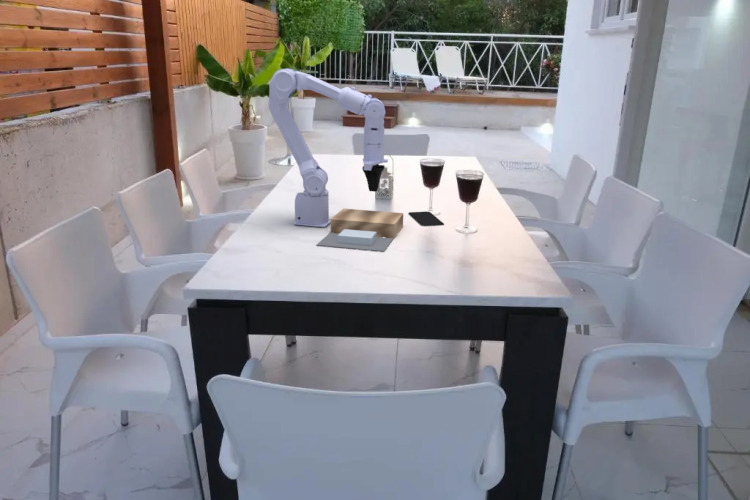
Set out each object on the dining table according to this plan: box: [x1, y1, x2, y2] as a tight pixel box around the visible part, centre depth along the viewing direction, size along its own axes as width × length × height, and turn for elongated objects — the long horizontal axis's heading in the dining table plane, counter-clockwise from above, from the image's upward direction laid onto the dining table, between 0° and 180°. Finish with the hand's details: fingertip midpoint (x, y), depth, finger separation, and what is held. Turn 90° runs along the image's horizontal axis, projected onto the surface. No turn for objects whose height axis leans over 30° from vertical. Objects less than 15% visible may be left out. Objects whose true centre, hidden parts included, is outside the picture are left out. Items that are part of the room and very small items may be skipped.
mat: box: [315, 232, 394, 253], centre depth 155 cm, size 18×11×1 cm, turn 76°
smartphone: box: [408, 211, 445, 227], centre depth 179 cm, size 7×1×15 cm
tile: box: [338, 229, 377, 246], centre depth 156 cm, size 9×6×2 cm, turn 76°
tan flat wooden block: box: [330, 208, 404, 239], centre depth 166 cm, size 18×12×4 cm, turn 76°
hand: (373, 190), depth 169 cm, fingers closed
